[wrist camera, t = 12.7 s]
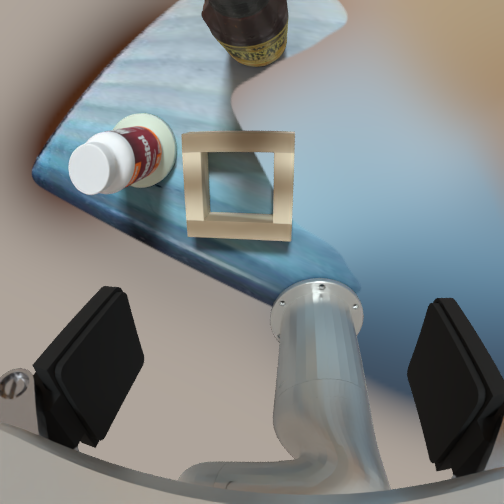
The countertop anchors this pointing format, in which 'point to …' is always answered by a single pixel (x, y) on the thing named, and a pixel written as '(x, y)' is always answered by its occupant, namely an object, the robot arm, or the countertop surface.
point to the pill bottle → (115, 160)
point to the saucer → (166, 140)
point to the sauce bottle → (249, 28)
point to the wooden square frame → (237, 223)
